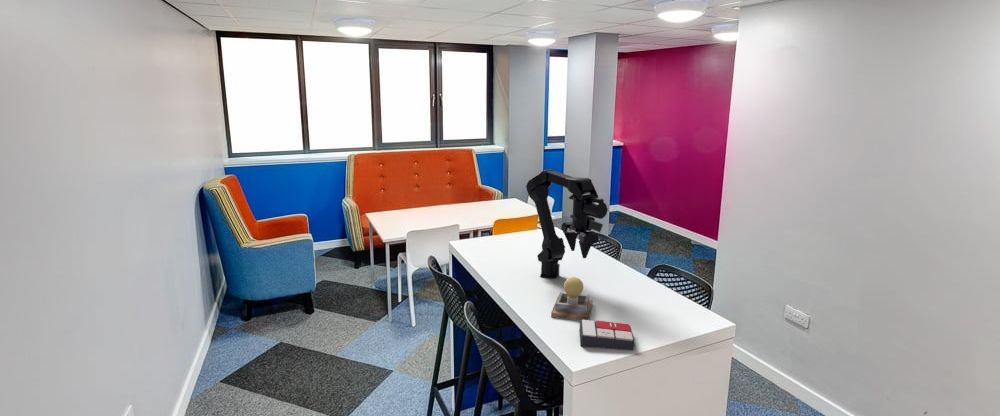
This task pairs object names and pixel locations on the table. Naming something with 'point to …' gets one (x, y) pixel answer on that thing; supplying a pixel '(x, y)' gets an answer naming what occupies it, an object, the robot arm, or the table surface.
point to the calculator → (606, 335)
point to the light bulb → (573, 289)
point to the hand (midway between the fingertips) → (578, 254)
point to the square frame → (572, 308)
